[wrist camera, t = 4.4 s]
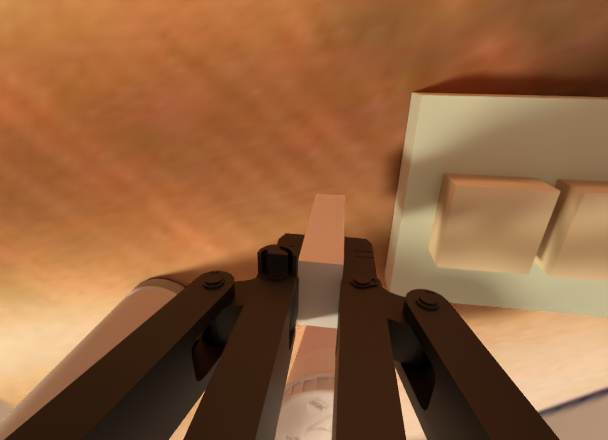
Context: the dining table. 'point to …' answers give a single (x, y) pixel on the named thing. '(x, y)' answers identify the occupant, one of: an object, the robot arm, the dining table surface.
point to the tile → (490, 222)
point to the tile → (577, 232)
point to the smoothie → (310, 388)
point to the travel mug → (94, 347)
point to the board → (494, 162)
